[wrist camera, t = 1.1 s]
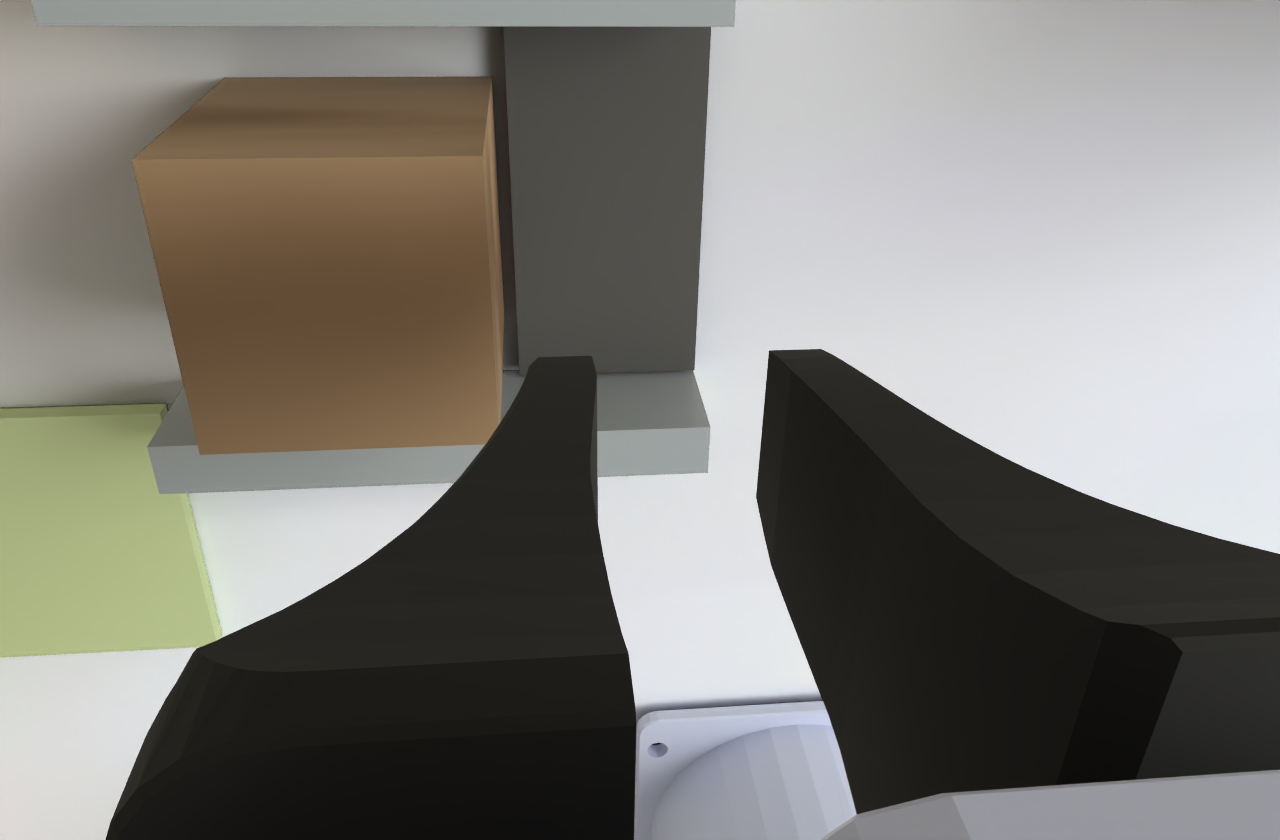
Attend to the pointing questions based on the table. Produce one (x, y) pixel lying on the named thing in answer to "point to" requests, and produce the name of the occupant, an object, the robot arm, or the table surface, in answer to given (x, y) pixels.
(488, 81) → the block
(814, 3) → the table surface
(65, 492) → the coaster
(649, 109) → the goalpost shaped bracket
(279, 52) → the table surface
